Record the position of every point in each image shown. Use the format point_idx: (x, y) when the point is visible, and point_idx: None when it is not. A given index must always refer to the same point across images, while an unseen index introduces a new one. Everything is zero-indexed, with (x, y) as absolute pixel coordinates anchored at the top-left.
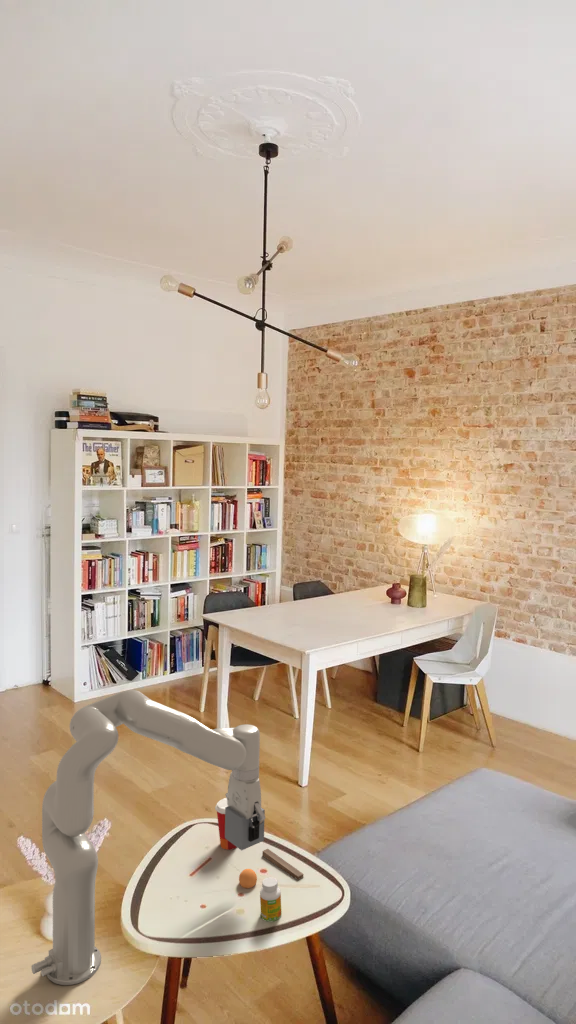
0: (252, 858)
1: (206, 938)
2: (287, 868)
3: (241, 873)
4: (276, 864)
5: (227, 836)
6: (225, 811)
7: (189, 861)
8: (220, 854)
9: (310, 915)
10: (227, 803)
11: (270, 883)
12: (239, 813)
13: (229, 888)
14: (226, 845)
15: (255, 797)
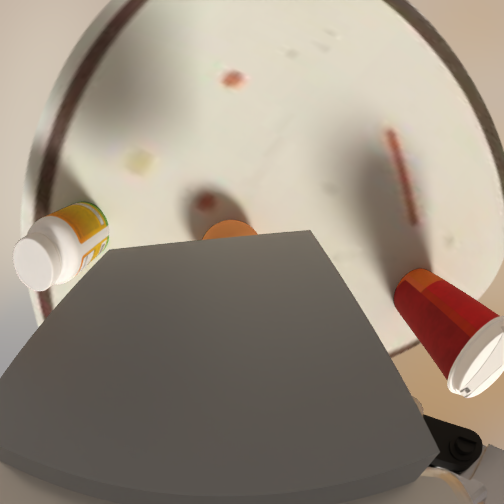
0: None
1: (108, 40)
2: None
3: None
4: None
5: (280, 242)
6: (405, 396)
7: (438, 168)
8: (407, 253)
9: (48, 301)
10: (451, 493)
11: (24, 262)
12: (84, 501)
13: (256, 187)
14: (414, 281)
15: None
